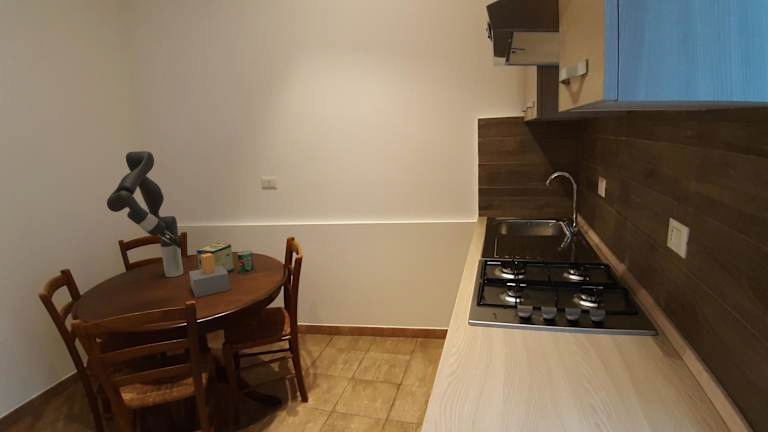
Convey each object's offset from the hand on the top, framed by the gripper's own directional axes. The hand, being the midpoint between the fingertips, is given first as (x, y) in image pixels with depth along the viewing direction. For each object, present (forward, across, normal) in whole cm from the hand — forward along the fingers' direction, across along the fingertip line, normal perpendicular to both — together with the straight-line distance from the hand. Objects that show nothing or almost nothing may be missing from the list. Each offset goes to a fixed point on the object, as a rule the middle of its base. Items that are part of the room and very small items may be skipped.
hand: (178, 245), depth 209 cm
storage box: (+26, -3, +8) cm, 28 cm away
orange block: (+20, -3, +2) cm, 20 cm away
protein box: (+35, +18, -1) cm, 40 cm away
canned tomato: (+43, +9, -11) cm, 46 cm away
